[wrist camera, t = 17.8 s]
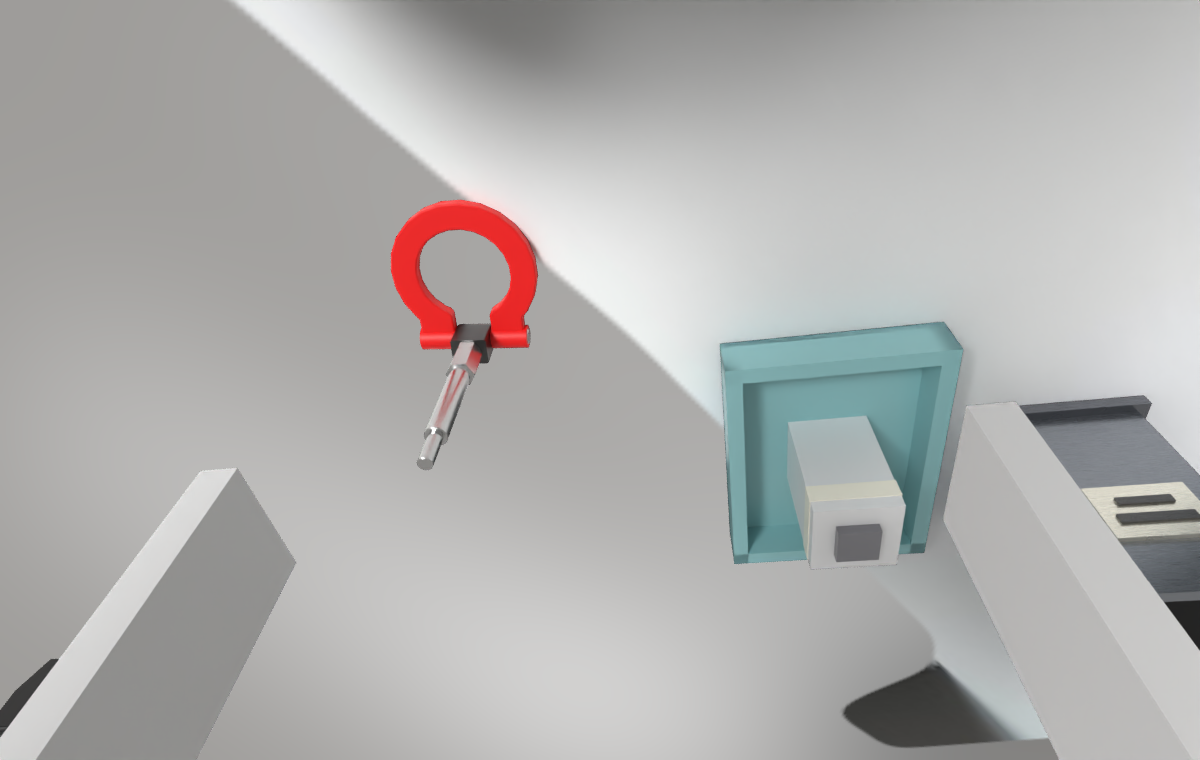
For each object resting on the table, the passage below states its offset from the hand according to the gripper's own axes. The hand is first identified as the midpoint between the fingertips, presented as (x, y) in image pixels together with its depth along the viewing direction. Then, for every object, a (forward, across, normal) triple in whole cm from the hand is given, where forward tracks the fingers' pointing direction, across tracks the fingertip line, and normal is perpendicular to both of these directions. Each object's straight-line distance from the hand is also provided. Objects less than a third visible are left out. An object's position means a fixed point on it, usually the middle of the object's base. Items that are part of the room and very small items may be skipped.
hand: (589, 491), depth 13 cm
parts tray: (+27, +11, -23) cm, 37 cm away
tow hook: (+27, -10, -8) cm, 30 cm away
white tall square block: (+26, +11, -23) cm, 37 cm away
